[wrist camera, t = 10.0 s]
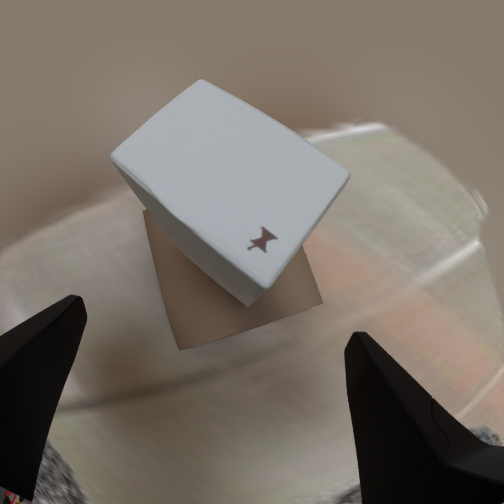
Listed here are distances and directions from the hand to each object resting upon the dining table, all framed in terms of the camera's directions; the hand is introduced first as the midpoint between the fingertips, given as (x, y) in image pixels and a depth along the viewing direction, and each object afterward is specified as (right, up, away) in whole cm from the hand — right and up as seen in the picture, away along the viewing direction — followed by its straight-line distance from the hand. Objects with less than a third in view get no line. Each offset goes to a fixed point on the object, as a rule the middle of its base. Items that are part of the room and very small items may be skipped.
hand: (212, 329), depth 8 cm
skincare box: (0, +2, +11) cm, 11 cm away
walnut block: (-1, +1, +13) cm, 13 cm away
